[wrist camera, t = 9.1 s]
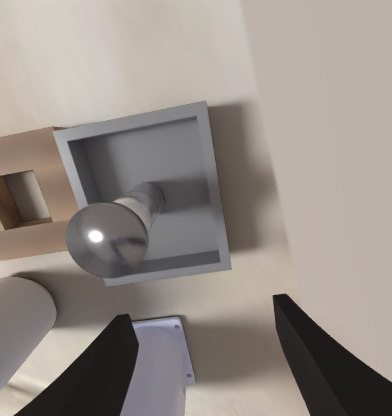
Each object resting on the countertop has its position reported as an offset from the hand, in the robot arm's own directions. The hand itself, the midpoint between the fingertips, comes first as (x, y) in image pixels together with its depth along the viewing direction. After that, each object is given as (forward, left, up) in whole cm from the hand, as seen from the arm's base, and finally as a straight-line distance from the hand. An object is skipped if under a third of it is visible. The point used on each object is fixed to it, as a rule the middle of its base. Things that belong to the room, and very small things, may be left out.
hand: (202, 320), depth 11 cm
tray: (+4, +3, -10) cm, 12 cm away
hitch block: (+6, +14, -10) cm, 19 cm away
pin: (+4, +4, -10) cm, 11 cm away
